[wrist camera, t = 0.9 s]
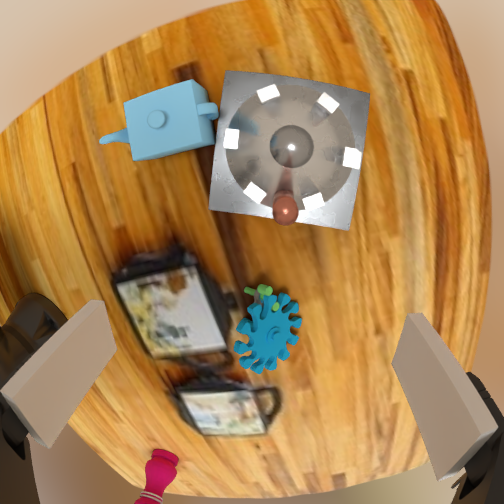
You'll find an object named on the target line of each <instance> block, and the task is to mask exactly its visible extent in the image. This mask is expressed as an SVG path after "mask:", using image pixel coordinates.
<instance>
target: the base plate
mask: <svg viewBox="0 0 504 504" xmlns="http://www.w3.org/2000/svg"><path fill="white" fill-rule="evenodd" d="M273 84H275V86H279V85H299V86H304V87H308V88H311V89H314V90H316V91H318V92H320V93H322V94H323V93H324V92H325V93H326V94H328V95H329V96H330V97H331V98H333V99H334V100H335V101H336V102H338V103H339V104H340V105H339V106H338V107H339V108H340V109H341V110H342V111H343V113H344V114H345V116H346V118H347V119H348V121H349V123H350V125H351V128H352V131H353V134H354V140H355V149H358V152H357V159H356V165H355V168H352V171H351V173H350V176H349V177H348V179H347V181H346V183H345V184H344V185H343V187H342V188H341V189H340V190H339V191H338V192H337V194H336V195H334V196H333V197H332V198H331V199H329V200H328V201H326V202H324V204H325V205H323V206H320V207H317V208H315V209H312V210H309V211H307V210H301V211H299V215H298V218H297V220H296V221H295V222H301V223H307V224H313V225H319V226H325V227H331V228H337V229H343V230H349V228H350V223H351V218H352V213H353V208H354V203H355V198H356V192H357V187H358V181H359V175H360V169H361V163H362V157H363V150H364V143H365V135H366V128H367V119H368V110H369V101H370V94H369V93H366V92H362V91H358V90H354V89H350V88H346V87H342V86H337V85H333V84H328V83H323V82H318V81H313V80H307V79H301V78H295V77H288V76H281V75H273V74H264V73H254V72H242V71H226V72H225V78H224V85H223V91H222V98H221V105H220V113H219V120H218V128H217V136H216V144H215V152H214V161H213V170H212V179H211V189H210V199H209V210H217V211H224V212H232V213H239V214H246V215H254V216H261V217H268V218H273V215H272V209H273V208H271V207H268V206H265V205H263V204H261V203H259V204H258V203H257V202H255V201H254V200H253V199H251V198H250V197H249V196H247V195H246V194H245V193H243V192H244V190H243V189H242V188H241V187H240V186H239V185H238V183H237V182H236V180H235V179H234V177H233V175H232V173H231V171H230V169H229V166H228V163H227V158H226V150H225V148H224V141H225V133H226V129H228V127H229V124H230V122H231V120H232V118H233V116H234V114H235V113H236V111H237V110H238V108H239V107H240V106H241V105H242V104H243V103H244V102H245V101H246V100H247V99H249V98H250V97H251V96H253V95H254V94H256V93H257V90H260V89H262V88H265V87H268V86H270V85H273Z"/></svg>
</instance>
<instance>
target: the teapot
mask: <svg viewBox="0 0 504 504" xmlns="http://www.w3.org/2000/svg"><path fill="white" fill-rule="evenodd" d="M124 110H125V117H126V123H127V128H125V129H123V130H120V131H117V132H114V133H111V134H108V135H105V136H103V137H102V138H101V139H100V140H99V143H100V144H107V143H111V142H124V143H130V147H131V152H132V157H133V161H141V160H151V159H158V158H162V157H165V156H169V155H173V154H177V153H181V152H184V151H188V150H193V149H197V148H201V147H205V146H209V145H214V144H216V135H215V130H214V125H213V120H214V119H217V118H218V116H219V113H218V107H217V105H216V104H215V103H209V98H208V92H207V90H205V89H204V88H203V87H202V86H200V85H199V84H198V83H196V82H195V81H194V80H192V79H191V80H188V81H184V82H181V83H178V84H174V85H171V86H168V87H165V88H162V89H159V90H156V91H153V92H150V93H148V94H145V95H142V96H140V97H137V98H135V99H132V100H129V101H127V102H124Z"/></svg>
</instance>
